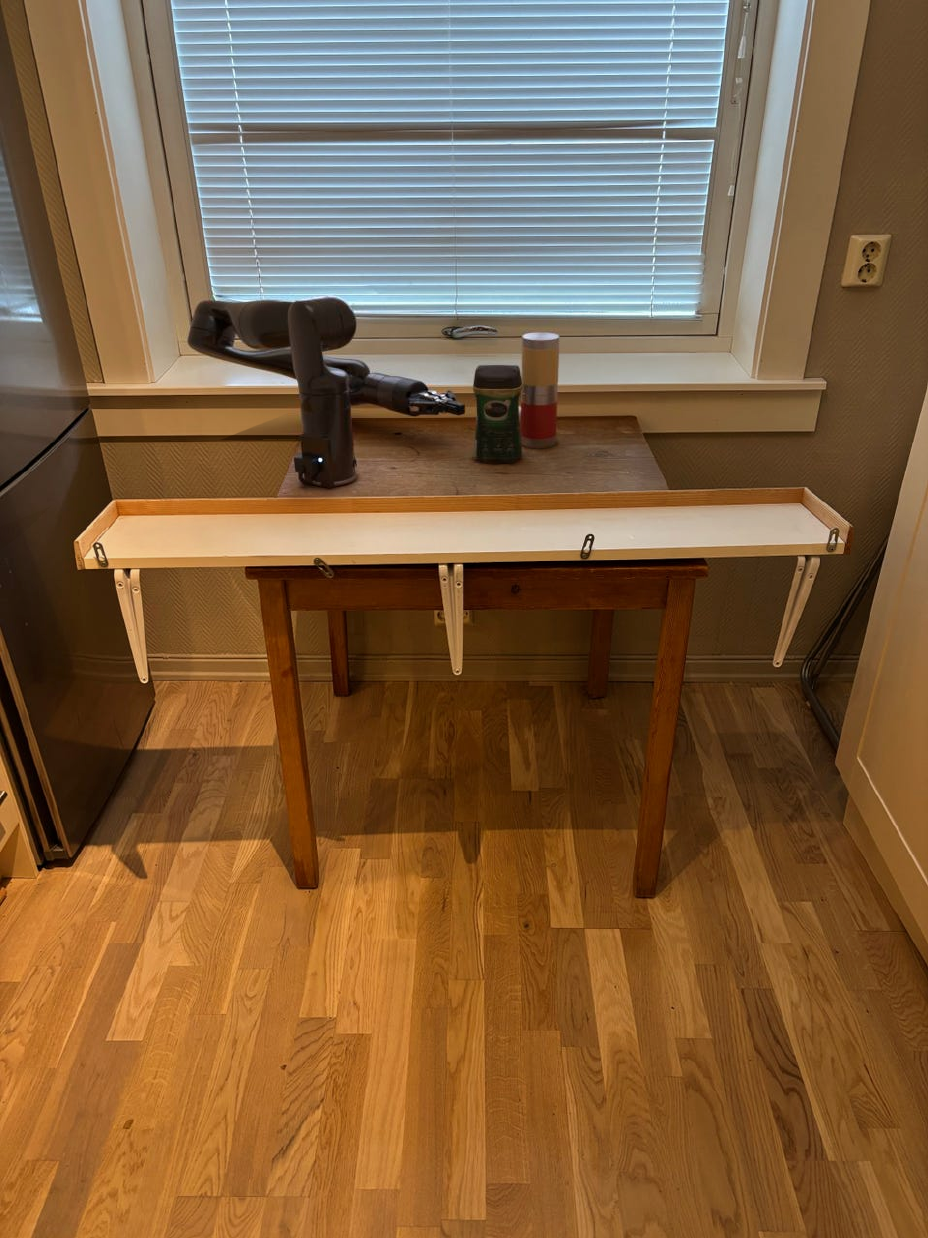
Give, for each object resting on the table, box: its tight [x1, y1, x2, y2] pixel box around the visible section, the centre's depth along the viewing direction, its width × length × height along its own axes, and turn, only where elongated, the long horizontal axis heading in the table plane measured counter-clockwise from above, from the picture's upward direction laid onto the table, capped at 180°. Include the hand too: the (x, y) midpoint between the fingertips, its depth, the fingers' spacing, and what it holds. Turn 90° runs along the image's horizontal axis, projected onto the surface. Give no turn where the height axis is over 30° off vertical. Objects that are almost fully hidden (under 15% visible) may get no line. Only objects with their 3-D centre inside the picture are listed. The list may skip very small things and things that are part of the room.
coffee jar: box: [472, 364, 523, 464], centre depth 180 cm, size 10×8×19 cm
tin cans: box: [519, 331, 560, 449], centre depth 187 cm, size 8×8×22 cm
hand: (462, 409), depth 186 cm, fingers closed
